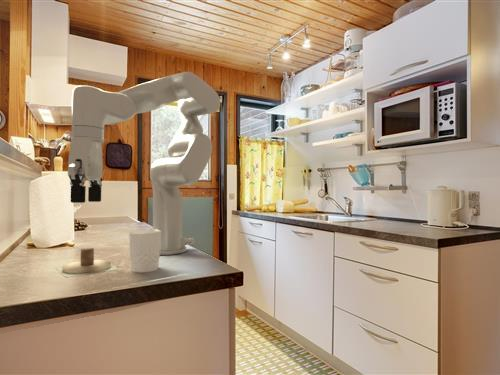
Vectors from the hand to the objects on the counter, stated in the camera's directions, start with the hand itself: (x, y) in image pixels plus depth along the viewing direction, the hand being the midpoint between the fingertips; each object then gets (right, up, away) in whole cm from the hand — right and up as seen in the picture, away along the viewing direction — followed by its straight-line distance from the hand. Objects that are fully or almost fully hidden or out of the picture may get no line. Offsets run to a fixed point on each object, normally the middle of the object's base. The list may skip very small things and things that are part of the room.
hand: (86, 202), depth 80 cm
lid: (0, -17, 0) cm, 17 cm away
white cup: (+15, -18, 0) cm, 23 cm away
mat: (0, -17, 0) cm, 17 cm away
